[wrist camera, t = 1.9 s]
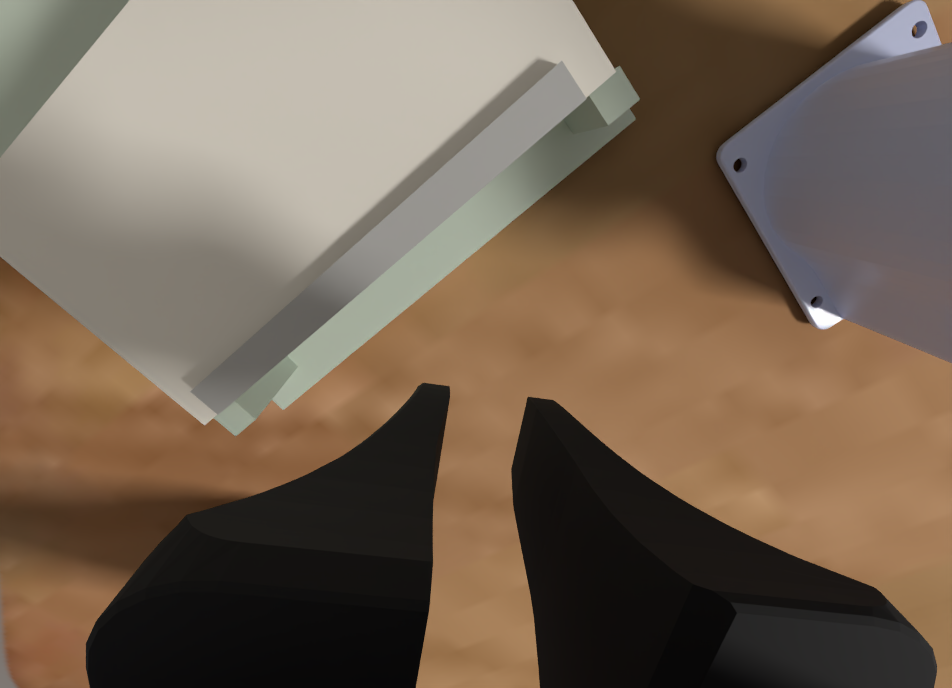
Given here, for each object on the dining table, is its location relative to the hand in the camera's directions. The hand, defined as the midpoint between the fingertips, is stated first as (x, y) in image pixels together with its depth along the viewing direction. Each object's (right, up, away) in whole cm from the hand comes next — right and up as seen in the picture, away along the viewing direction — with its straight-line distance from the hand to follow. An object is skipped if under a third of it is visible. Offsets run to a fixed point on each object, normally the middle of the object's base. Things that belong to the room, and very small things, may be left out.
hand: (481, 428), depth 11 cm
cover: (-5, +7, +1) cm, 9 cm away
